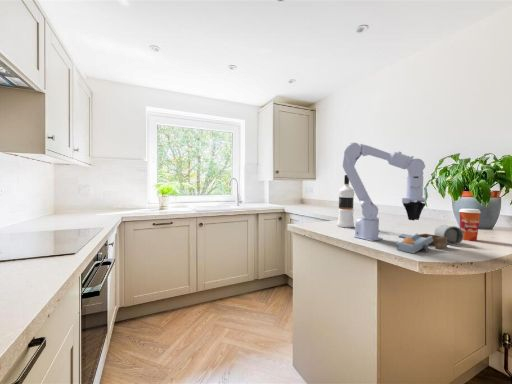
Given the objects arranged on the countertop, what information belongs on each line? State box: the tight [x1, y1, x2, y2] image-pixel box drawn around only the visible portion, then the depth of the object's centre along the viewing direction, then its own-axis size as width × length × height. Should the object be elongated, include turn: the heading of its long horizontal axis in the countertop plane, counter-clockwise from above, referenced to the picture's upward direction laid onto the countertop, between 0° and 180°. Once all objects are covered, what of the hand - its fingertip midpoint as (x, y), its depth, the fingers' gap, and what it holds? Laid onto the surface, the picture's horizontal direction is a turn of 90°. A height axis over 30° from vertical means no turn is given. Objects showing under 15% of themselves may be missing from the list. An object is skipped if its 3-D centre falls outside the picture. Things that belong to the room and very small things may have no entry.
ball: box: [402, 237, 414, 245], centre depth 91 cm, size 4×4×4 cm
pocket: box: [418, 233, 448, 250], centre depth 99 cm, size 8×7×4 cm
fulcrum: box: [417, 244, 429, 253], centre depth 93 cm, size 8×2×3 cm, turn 30°
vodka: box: [336, 174, 355, 229], centre depth 142 cm, size 9×9×30 cm
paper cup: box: [458, 208, 482, 242], centre depth 111 cm, size 8×8×14 cm
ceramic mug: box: [433, 224, 464, 246], centre depth 105 cm, size 11×8×8 cm
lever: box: [395, 233, 433, 255], centre depth 95 cm, size 12×14×3 cm
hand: (413, 219), depth 103 cm, fingers open, 3 cm apart
